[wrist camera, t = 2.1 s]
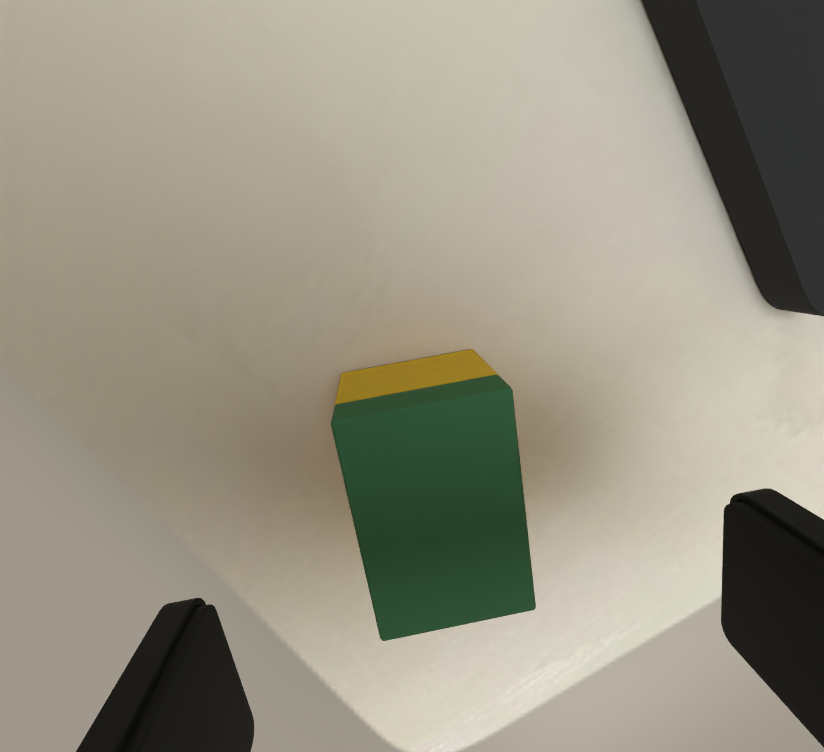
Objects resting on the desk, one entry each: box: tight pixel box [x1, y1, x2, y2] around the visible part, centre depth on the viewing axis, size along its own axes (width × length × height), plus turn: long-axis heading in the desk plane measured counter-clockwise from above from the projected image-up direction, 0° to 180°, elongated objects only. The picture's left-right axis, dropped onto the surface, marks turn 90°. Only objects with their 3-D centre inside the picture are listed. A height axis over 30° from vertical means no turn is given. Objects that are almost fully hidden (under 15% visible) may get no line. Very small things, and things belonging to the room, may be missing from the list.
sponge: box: [331, 349, 536, 641], centre depth 13 cm, size 6×4×4 cm, turn 9°
